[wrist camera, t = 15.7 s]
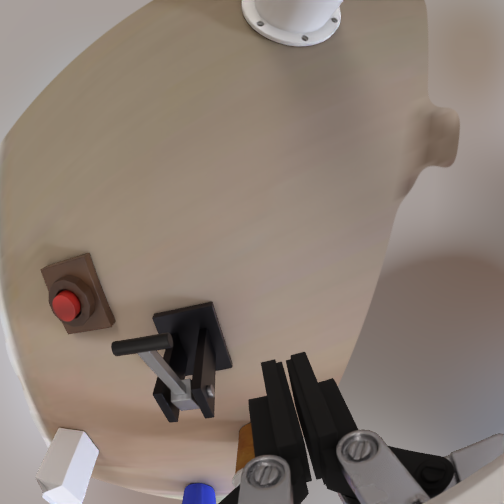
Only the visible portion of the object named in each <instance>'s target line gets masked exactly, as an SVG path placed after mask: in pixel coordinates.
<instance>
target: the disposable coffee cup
mask: <svg viewBox="0 0 504 504" xmlns="http://www.w3.org/2000/svg"><path fill="white" fill-rule="evenodd" d="M254 458H255V455H254V446H253V438H252V429H251V423H249V424H247V425H245V426H244V427H242V428H241V429H240V432H239V442H238V452H237V462H236V472H235V475H234V477H233V480H232V483H233V485H234V486H235V487H237V486H238V485H239V484H240V482H241V474H242V470H243V468H244V467H245V465H246V464H247V463H248V462H249V461H250V460H252V459H254Z"/></svg>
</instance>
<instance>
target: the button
mask: <svg viewBox="0 0 504 504" xmlns="http://www.w3.org/2000/svg"><path fill="white" fill-rule="evenodd" d="M53 309H54V312H55V313H56V315H57V316H58V317H59V318H60V319H62V320H63V321H72V320H73V319H74V318H75V317H76V316H77V315H78V314H79V312H80V310H81V304H80V301H79V299H78V297H77V296H76V295H75V294H74V293H73V292H71V291H68V290H64V291H62V292H61V293H59V294H58V295H57V296H56V297H55V298H54V300H53Z"/></svg>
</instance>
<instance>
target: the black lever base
mask: <svg viewBox="0 0 504 504" xmlns="http://www.w3.org/2000/svg"><path fill="white" fill-rule="evenodd" d="M152 319H153V321H154V324H155V326H156V328H157V331H158V333H159V334H163V333H170V334H171V336H172V339H173V347H172V348H168V349H165V353H164V357H163V359H164V360H165V362H166V363H167V364H168V365H169V366H170V368H171V369H172V370H173V371H174V372H175V374H176V375H177V376H178V377H179V378H180V380H184V379H185V376H188V375H193V377H192V384H191V391H192V393H193V395H194V397H195V399H196V401H197V403H198V405H199V407H200V409H201V411H202V413H203V415H204V417H205V418H212V417H214V401H215V371H217V370H223V369H228V368H232V361H231V358H230V355H229V352H228V349H227V346H226V343H225V340H224V337H223V334H222V330H221V327H220V324H219V321H218V318H217V315H216V312H215V308H214V305H213V302H208V303H203V304H199V305H194V306H190V307H185V308H180V309H175V310H171V311H166V312H161V313H156V314H154V315H153V318H152ZM153 396H154V398H155V399H156V401H157V403H158V405H159V406H160V408H161V410H162V411H163V413H164V415H165V416H166V418H167V419H168V421H169V422H178V417H179V410H180V409H179V408H178V407H176V406H175V405H174V404H173V403H172V402H171V389H170V388H169V387H168V386H167V385H166V384H165V383H164V382H163V381H162V380H161V379H160V378H159V377H157V381H156V384H155V388H154V391H153Z"/></svg>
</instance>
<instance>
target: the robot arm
mask: <svg viewBox="0 0 504 504" xmlns="http://www.w3.org/2000/svg"><path fill="white" fill-rule="evenodd" d="M342 2H343V0H242V2H241V5H242V12H243V15H244V17H245V19H246V20H247V22H248V23H249V24H250V26H251V27H252V28H253V29H254V30H256V31H257V32H258V33H259V34H261V35H263V36H264V37H266V38H268V39H270V40H273V41H275V42H278V43H281V44H285V45H291V46H310V45H315V44H318V43H321V42H323V41H325V40H326V39H328V38H329V37H330V36H331V35H332V34H333V33H334V32H335V31H336V29H337V28H338V26H339V24H340V19H341V13H340V8H339V5H340V4H341V3H342ZM261 26H262V27H261ZM302 39H303V40H305V41H303V40H302ZM286 363H287V368H288V373H289V377H290V382H291V387H292V392H293V397H294V401H295V406H296V410H297V414H298V417H297V414H296V410H295V407H294V403H293V400H292V396H291V393H290V389H289V386H288V382H287V379H286V375H285V372H284V368H283V365H282V362H278V363H276V361H275V360H270V361H266V362H262V363H261V366H262V371H263V377H264V382H265V388H266V393H267V396H264V397H259V398H254V399H249V411H250V420H251V429H252V438H253V446H254V455H255V458H254V459H252V460H250V461H249V462H248V463H247V464H246V465H245V467H244V468H243V470H242V474H241V482H240V484H239V485H238V486H237V487H236V488H235V489H234V490H233V491H232V492H231V493H230V494H229V495H227V496H226V497H225V498H224V499H223V500H222V501H221V502H220V503H219V504H301V502H302V501H303V500H304V499H305V498H306V496H307V495H308V488H307V485H306V482H309V481H312V479H311V474H310V469H309V464H308V459H307V453H306V448H305V443H304V440H303V435H304V438H305V442H306V445H307V449H308V452H309V455H310V459H311V462H312V466H313V470H314V473H315V476H316V479H321V478H322V479H323V482H324V484H326V486H327V489H330V490H332V491H335V492H337V493H338V495H339V497H340V499H341V501H342V502H343V504H504V434H495V435H492V436H491V437H488V438H486V439H484V440H481V441H479V442H477V443H474V444H472V445H469V446H467V447H464V448H462V449H459V450H456V451H454V452H451V454H450V455H448V456H445V457H441V456H436V455H430V454H424V453H419V452H413V451H408V450H404V449H399V448H394V447H390V446H387V444H386V443H385V442H384V441H383V439H382V438H381V437H380V436H379V435H378V434H377V433H375V432H372V431H370V430H358V428H357V426H356V424H355V422H354V420H353V418H352V415H351V413H350V411H349V409H348V407H347V405H346V403H345V401H344V399H343V397H342V395H341V393H340V391H339V389H338V386H337V384H336V382H335V381H334V379H333V378H332V379H329V380H326V381H322V382H319V383H318V382H317V379H316V377H315V375H314V372H313V370H312V367H311V365H310V363H309V360H308V358H307V355H306V353H305V352H302V353H298V354H294V355H291V359H290V360H286ZM298 418H299V421H300V424H301V428H302V431H303V435H302V431H301V428H300V424H299V421H298Z"/></svg>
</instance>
